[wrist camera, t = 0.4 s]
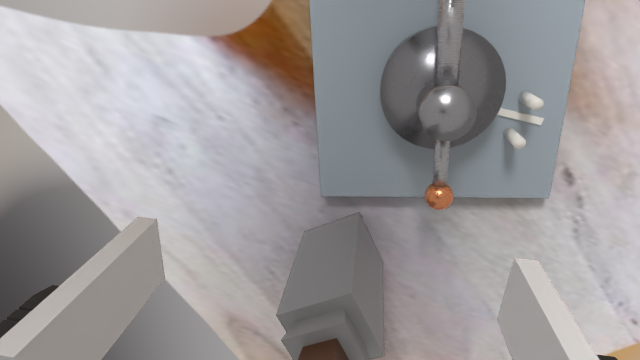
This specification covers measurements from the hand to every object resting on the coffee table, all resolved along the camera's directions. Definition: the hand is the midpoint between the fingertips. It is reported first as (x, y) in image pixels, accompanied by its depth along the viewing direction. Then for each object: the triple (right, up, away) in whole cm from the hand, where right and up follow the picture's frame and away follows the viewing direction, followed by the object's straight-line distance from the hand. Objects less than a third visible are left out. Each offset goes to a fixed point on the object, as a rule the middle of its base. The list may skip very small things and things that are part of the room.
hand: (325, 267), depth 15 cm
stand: (+10, +11, +23) cm, 27 cm away
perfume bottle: (+2, -4, +31) cm, 31 cm away
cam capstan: (+10, +12, +20) cm, 25 cm away
